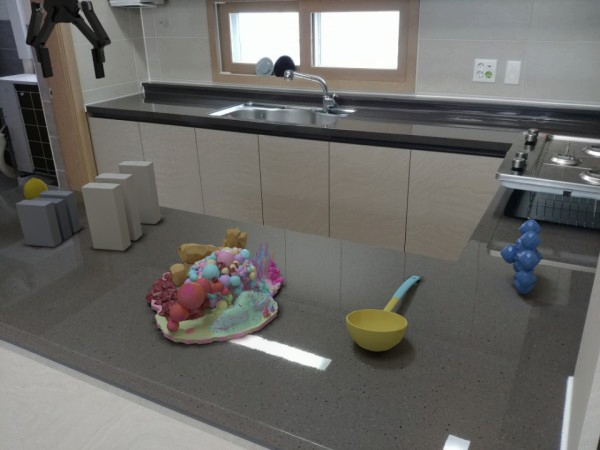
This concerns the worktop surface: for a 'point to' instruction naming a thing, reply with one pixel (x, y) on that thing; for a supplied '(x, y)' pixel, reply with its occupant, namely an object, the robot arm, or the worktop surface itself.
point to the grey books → (49, 218)
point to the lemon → (34, 188)
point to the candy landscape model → (216, 292)
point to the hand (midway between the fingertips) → (74, 77)
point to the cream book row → (112, 211)
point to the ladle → (379, 323)
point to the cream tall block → (144, 189)
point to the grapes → (524, 256)
